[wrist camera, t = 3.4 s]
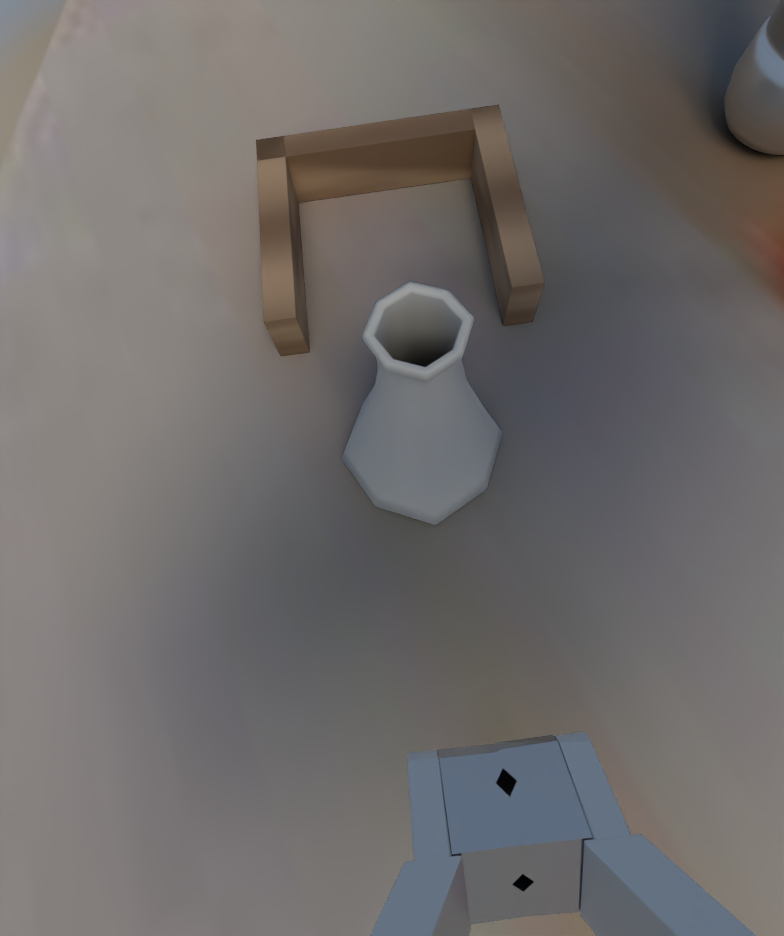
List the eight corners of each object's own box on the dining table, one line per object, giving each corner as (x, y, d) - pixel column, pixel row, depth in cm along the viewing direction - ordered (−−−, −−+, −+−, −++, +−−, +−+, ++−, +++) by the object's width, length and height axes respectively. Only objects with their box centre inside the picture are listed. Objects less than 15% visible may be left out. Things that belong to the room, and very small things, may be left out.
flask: (405, 355, 27) (393, 196, 18) (528, 431, 25) (587, 298, 16) (315, 465, 25) (249, 353, 16) (440, 554, 24) (448, 487, 14)
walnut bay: (271, 186, 31) (256, 139, 28) (492, 154, 31) (498, 104, 28) (280, 356, 27) (263, 321, 25) (532, 321, 27) (544, 282, 24)
